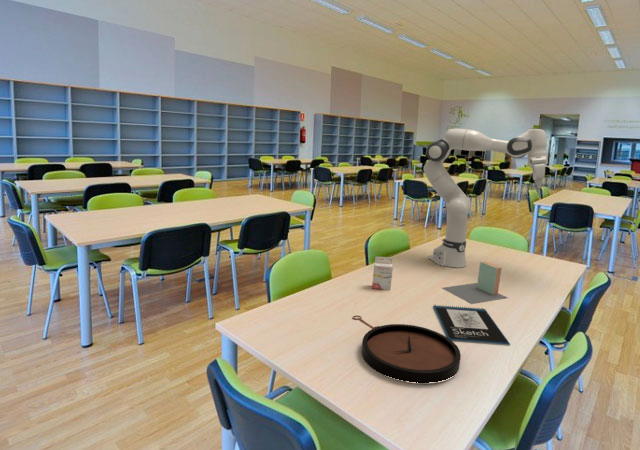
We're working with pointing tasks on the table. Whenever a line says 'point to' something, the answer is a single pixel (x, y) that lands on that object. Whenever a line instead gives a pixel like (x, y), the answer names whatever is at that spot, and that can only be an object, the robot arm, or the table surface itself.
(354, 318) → the key
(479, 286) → the tile
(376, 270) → the ink cartridge box
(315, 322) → the table surface
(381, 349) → the wall clock
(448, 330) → the sketchbook
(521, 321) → the table surface
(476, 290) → the mat
